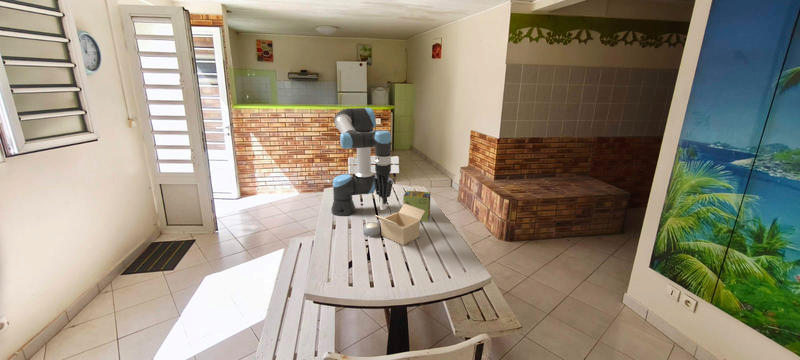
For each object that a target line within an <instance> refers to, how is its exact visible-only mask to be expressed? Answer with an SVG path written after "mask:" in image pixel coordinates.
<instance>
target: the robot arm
mask: <svg viewBox="0 0 800 360" xmlns="http://www.w3.org/2000/svg"><path fill="white" fill-rule="evenodd" d="M333 123H334V126H335V128H336V129H337V130H338V131H339V132H340V135H339V141H340V147H341V149H347V150H350V149H356V171H355V173H354V176H352V175H351V174H349V173H348V174H347V173H344V174H339V175H337V176H335V177H334V178H333V179H332V190H333V191H332V193H333V200H332V201H333V202H332V206H331V209H330V210H331V214H333V215H335V216H339V217H341V216H345V217H346V216H350V215H353V214H355V213H356V206H355V203H354V200H353V196H358V195H359V196H361V195H371V194H374V193H375V194H376V195H378V198H379V199H378V201H379V210H381V211H384V210H386V209H387V203H388V198H390V197H391V194H392V189H393V185H394V182H395V179H392V178H391V171H392V133H391V132H390V131H388V130H374V129H375V128H376V126H377V119H376V114H375V112H374V109H372V108H370V107H359V108H357V107H356V108H354V107H353V108H350V107H349V108H344V109H341V110H340V111H338V112H337V113H336V114H335V116H334V118H333ZM372 148H374V153H375V154H374V155H375V156H374V158H375V159H374V160H375V161H374V163H375V165H374V167H375V168H374V171H375V174H374V173H373V171H372V161H371V160H372V159H371V158H372V156H371V155H372V152H371V151H372V150H371V149H372Z"/></svg>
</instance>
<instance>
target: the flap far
mask: <svg viewBox="0 0 800 360" xmlns="http://www.w3.org/2000/svg"><path fill="white" fill-rule="evenodd" d="M398 212H399V213H401V214H404V215H407V216H410V217H412V218H415V219H418V220H421V218H422V216H423V214H424V213H425V210H422V209H419V208H416V207H413V206H410V205H407V204H404V205H401V208H400V209H399V211H398Z"/></svg>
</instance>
